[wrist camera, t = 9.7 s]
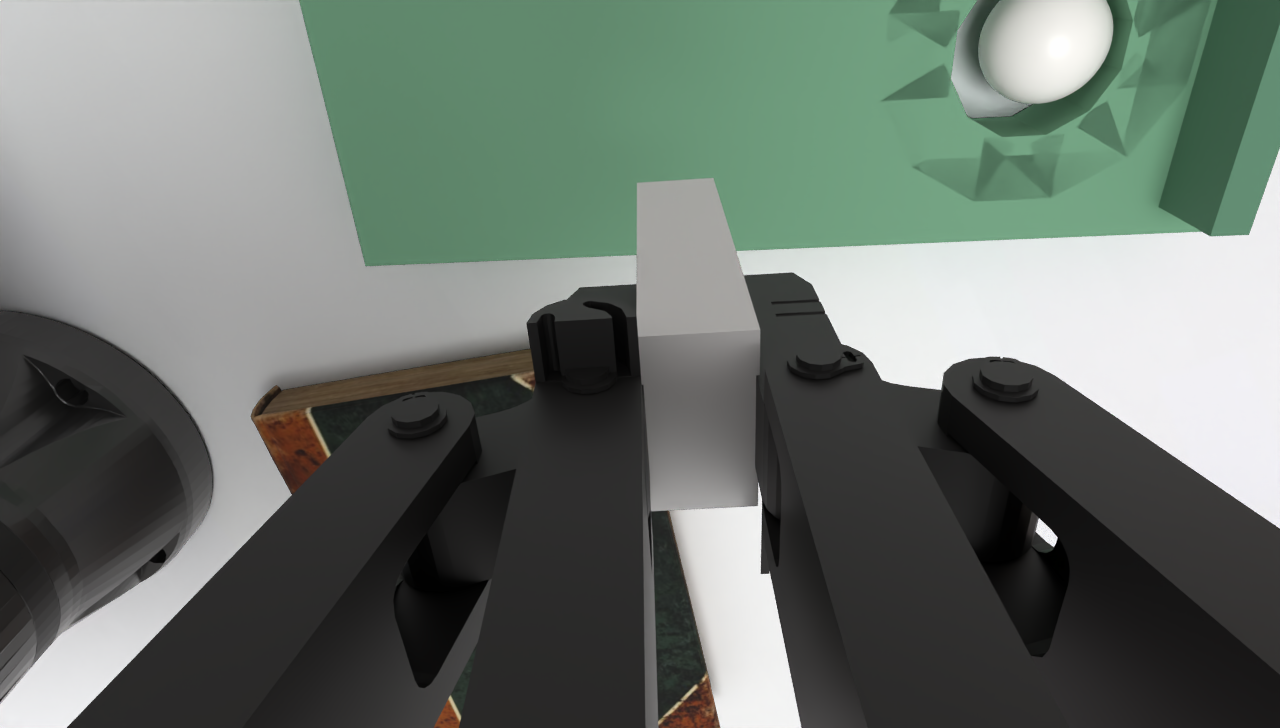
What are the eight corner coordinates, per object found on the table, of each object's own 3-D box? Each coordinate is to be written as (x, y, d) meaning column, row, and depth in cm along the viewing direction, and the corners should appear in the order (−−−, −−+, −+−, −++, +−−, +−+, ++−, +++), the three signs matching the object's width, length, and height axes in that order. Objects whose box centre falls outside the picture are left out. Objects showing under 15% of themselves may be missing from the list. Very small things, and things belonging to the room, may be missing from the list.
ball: (1084, 119, 24) (1107, 95, 27) (1115, -22, 22) (1136, -33, 25) (954, 110, 26) (988, 89, 29) (972, -19, 24) (1006, -29, 27)
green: (390, 238, 32) (152, 504, 17) (305, -130, 26) (-189, -212, 11) (1182, 204, 30) (1674, 466, 15) (1304, -201, 24) (2344, -414, 9)
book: (719, 684, 46) (634, 318, 34) (723, 739, 43) (631, 357, 31) (446, 713, 48) (276, 379, 36) (431, 767, 45) (239, 422, 33)
